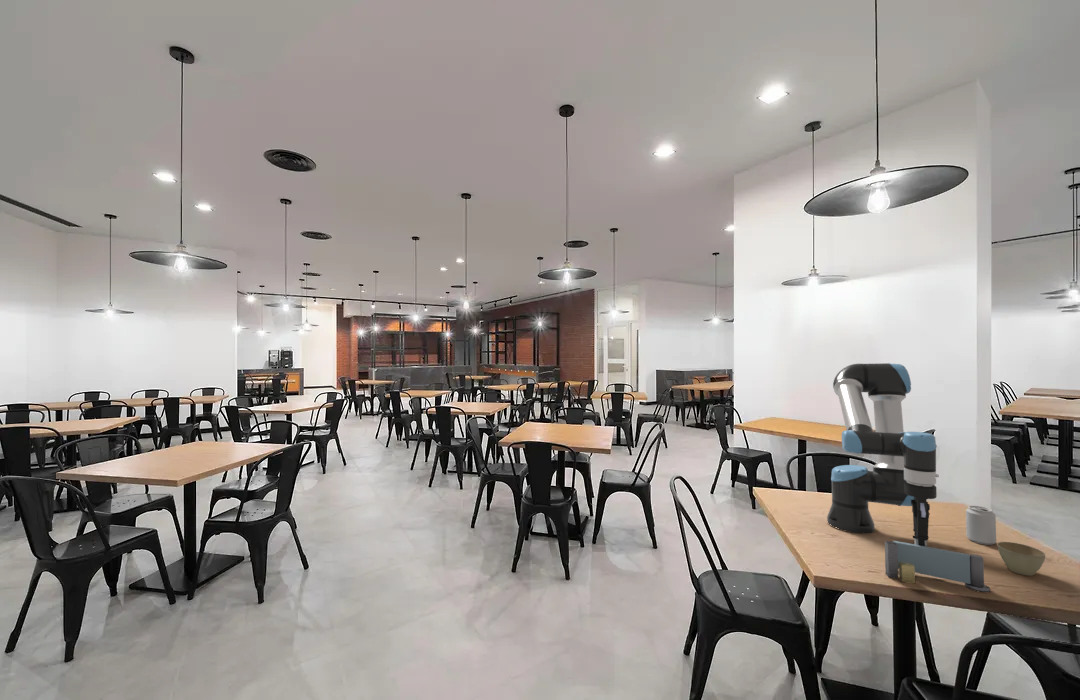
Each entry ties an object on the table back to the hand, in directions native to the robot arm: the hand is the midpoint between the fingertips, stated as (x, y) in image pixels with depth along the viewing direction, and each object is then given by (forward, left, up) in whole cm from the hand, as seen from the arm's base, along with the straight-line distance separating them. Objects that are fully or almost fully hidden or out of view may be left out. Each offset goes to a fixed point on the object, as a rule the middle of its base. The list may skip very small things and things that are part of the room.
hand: (920, 559), depth 133 cm
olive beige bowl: (+23, +20, -4) cm, 31 cm away
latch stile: (-5, -9, -4) cm, 11 cm away
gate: (+4, -3, -3) cm, 5 cm away
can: (+16, +43, -4) cm, 46 cm away
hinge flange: (+12, -2, -4) cm, 13 cm away
